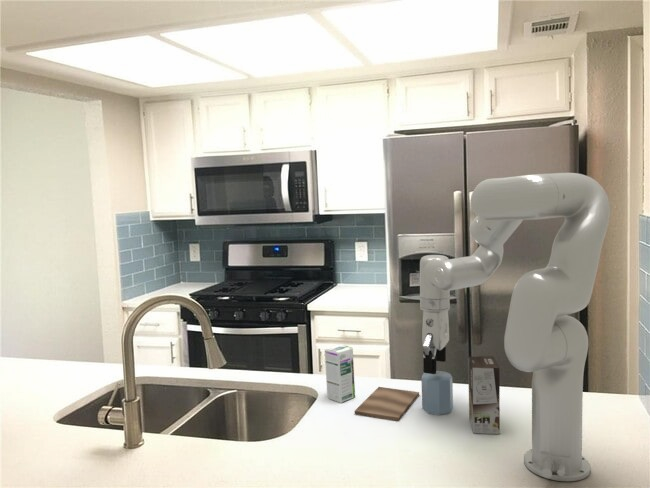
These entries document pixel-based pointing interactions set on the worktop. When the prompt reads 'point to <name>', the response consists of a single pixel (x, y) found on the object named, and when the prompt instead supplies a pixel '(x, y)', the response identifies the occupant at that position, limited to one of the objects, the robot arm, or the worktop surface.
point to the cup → (437, 393)
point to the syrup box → (340, 373)
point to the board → (387, 403)
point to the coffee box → (484, 394)
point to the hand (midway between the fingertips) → (434, 366)
